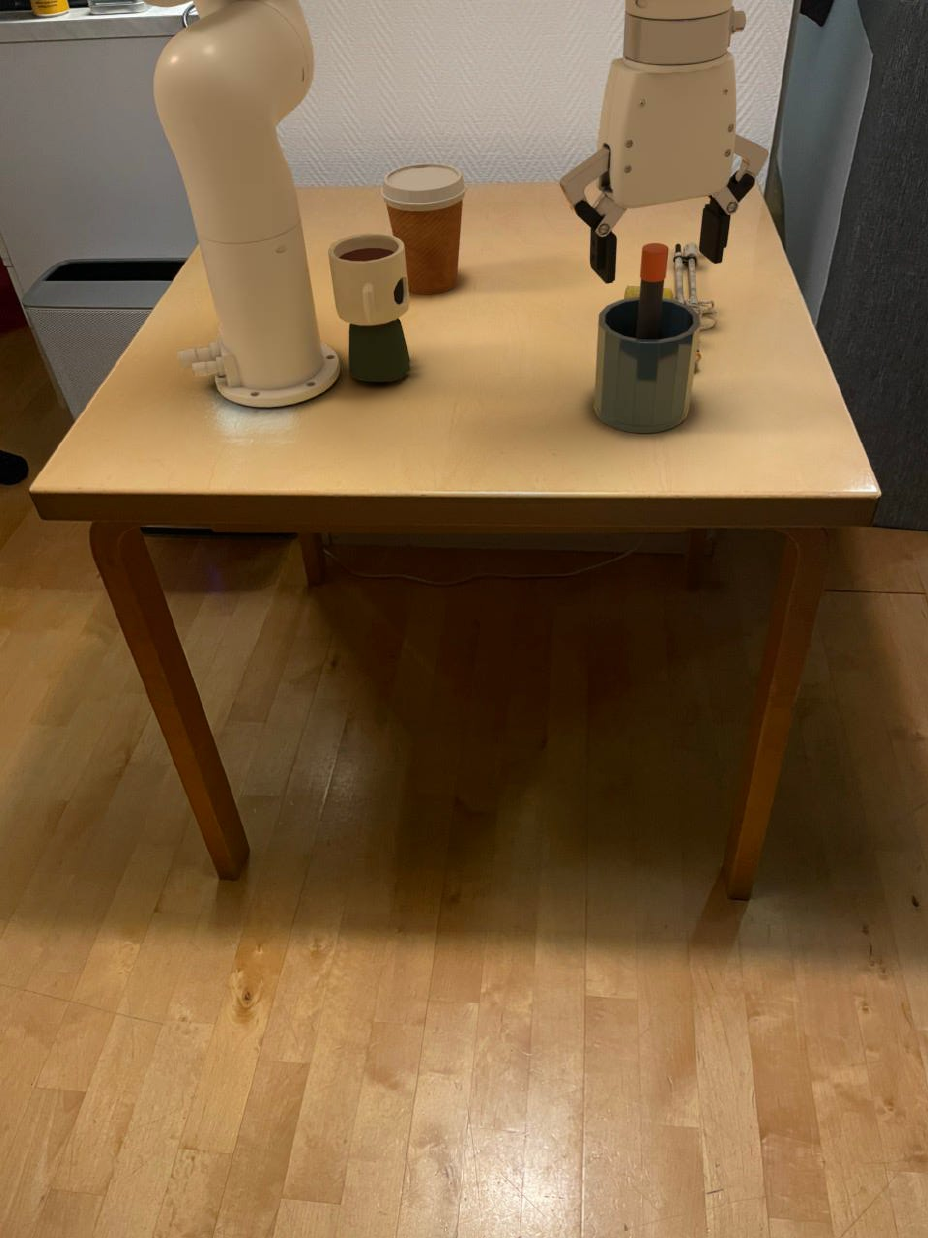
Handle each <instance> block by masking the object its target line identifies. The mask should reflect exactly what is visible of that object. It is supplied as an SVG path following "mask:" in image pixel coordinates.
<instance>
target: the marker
mask: <svg viewBox="0 0 928 1238" xmlns="http://www.w3.org/2000/svg"><path fill="white" fill-rule="evenodd" d="M669 249H670V248H669V247H668V245H666V244H664V243H661V242H660V243H659V242H650V243H646V244H644V245H643V246H642V247H641V257H640V269H639V278H640V284H639V286H640V294H639V306H638V319H637V331H636V339H645V340H658V339H659V329H660V319H661V309H662V299H663V289H664V288H665V279H666V277H667V270H668V268H667V267H668V260H669Z"/></svg>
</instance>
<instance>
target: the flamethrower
mask: <svg viewBox="0 0 928 1238" xmlns="http://www.w3.org/2000/svg"><path fill="white" fill-rule="evenodd" d="M674 252H675V253H674V257H673V258H672V262H673V263H674V269H675V271H674V272H675V273H674V275H675V297H674V293H673V290H672V289H671V288H666V287H664V289H663V298H666V299H671V300H676V301H679V302H681V303H683V304H685V305H688V306H690V307H691V308H692V309H693V310H694V311H695V312H697V313H698V314H699V317H700V318H702V317H703V314H708V313H710V312H711V311H712V312H714V313H715V317H714V319H713V322H712V323H711V324H709V325H705V326H700V330H704V329H708V328H711V327H712V326H714V325H715V323H716V322H717V321H716V320H717V319H718V316H719V311H718V310H715V309H714V308H715V301H714V300H712V299H711V300H708V301H701V299H699V298H698V295H697V281H696V264H697V263H698V262H697V261H698V260H699V257H700V255H699V254H700V253H699V245H698V244H696V242H692V241H691V242H688V243H686V244H685V246H684V247H683V254H682V244H681V243H676V244H675V245H674ZM683 264H685V265H686V264H687V265H688V275H689V276H688V277H689V294H690V295H689V297H688V299H685V296H684V275H683V274H684V273H683V272H684V270H683ZM639 294H640V285H639V286H638V285H627V286H626V287H625V290H624V296H623V299H628V298H634V297H639ZM710 304H711V306H710ZM702 307H705V308H708V309H706V310H703V308H702ZM699 343H701V340H699V339H698V346H697V354H696V362H699V361H700V360H701V359H702V353H701V352H700V349H699V348H700V347H699Z"/></svg>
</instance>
